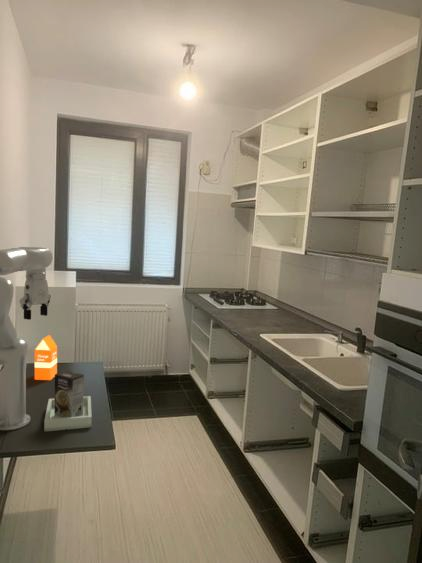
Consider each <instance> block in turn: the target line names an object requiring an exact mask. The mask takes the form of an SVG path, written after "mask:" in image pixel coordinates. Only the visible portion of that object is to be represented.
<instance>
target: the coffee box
mask: <svg viewBox="0 0 422 563" xmlns="http://www.w3.org/2000/svg"><path fill="white" fill-rule="evenodd" d="M84 381H85V375H84V374H81V373H79V372H74V371H71V370H64V371H60V372H57V374H55V376H54V398H55V413H54V415H56V416H59V417H62V418H66V417H78V416H82V415H83V397H84V389H85V388H84V387H85V382H84Z"/></svg>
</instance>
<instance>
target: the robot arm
mask: <svg viewBox="0 0 422 563" xmlns="http://www.w3.org/2000/svg"><path fill="white" fill-rule="evenodd" d="M52 262H53V252H52V250H51V249H49V248H47V247H42V246H41V247H39V246H37V247H36V246H30V247H29V246H20V247H12V248H5V249H0V366H3V368H1V370H0V431H13V430H17V429H21V428H23V427H26V426H27V425H28V424H29V423H30V422H31V416H30V414H27V413H26V412H27V411H26V409H27V408H26V407H27V404H26V403H27V400H26V399H27V396H26V395H27V394H26V391H27V390H26V387H27V379H26V378H27V377H26V374H27V362H28V356H29V349H30V347H29V344H28V342H27V341H26V340H24V339H22V338H18V336H17V331H16V328H15V326H14V324H13V322H12V320H11V318H10V316H9V314H10V310H11V306H12V303H13V297H14V292H15V290H14V285H13V282H12V281H11V280H9V279H7V278H6V277H1V276H7V275H11V274H14V273H18V272H25V279H26V280H25V282H24V288H23V296H22V297H21V298H19V300H18V301H19V304H20V307H21V308H22V310H23V319H24V320H27V321H29V320H31V319H32V309H31V308H32V306H36V305H38V306H39V305H40V307H39V308H40V309H39V312H40V313H39V314H40V315H41V316H45V317H46V316H48V307H49V304H50V302H51V297H52V295H51V294H50V293H49V292H50V291H49V284H48V280H47V276H46V273H47V272H46V271H47V268H48V267H49V266H50V265H51V264H52Z"/></svg>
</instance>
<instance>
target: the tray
mask: <svg viewBox="0 0 422 563" xmlns="http://www.w3.org/2000/svg"><path fill="white" fill-rule="evenodd" d="M54 413H55V397H54V398H48V402H47V405H46V412H45V417H44V422H43V423H44V428H43V430H44V432H53V431H64V430H66V429H67V430H74V429H75V430H76V429H86V428H92V421H93V420H92V419H93V418H92V417H93V416H92V398H91V395H88V396H87V395H86V396H84V395H83V415H82V416H78V417H66V418H62V417H59V416H56V415H54Z"/></svg>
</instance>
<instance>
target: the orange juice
mask: <svg viewBox="0 0 422 563" xmlns="http://www.w3.org/2000/svg"><path fill="white" fill-rule="evenodd" d="M57 373H58V345H57V344H56V342H55V341H54V339H53V338H52V336H51V335H50V334H49V335H48V334H47V336H45V337H44V338H42V339H41V341H40V342H39V344H37V346H36V348H35V349H34V380H35V381H36V380H37V381H51V380H53V378H55V374H57Z"/></svg>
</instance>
